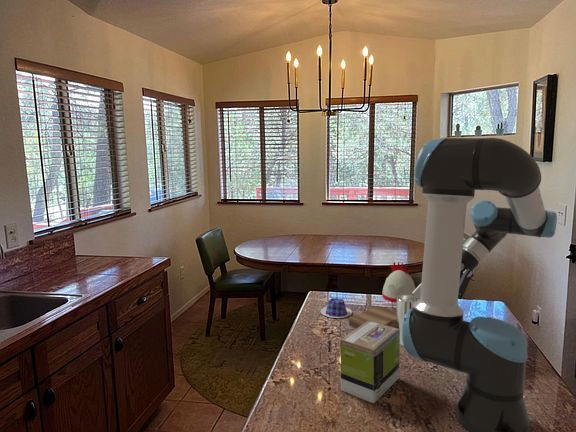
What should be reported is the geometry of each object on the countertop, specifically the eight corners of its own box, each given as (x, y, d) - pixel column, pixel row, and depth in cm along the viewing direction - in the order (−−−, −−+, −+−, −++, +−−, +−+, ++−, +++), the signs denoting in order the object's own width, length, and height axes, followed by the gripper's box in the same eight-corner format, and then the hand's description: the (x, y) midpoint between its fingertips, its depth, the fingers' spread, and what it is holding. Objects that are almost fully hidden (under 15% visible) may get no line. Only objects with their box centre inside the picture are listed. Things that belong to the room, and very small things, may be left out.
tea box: (367, 367, 121) (368, 318, 119) (400, 379, 115) (402, 328, 113) (339, 390, 110) (339, 337, 107) (373, 405, 104) (375, 349, 101)
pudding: (354, 309, 165) (354, 296, 164) (349, 321, 154) (349, 307, 153) (324, 306, 169) (324, 293, 168) (317, 317, 157) (317, 304, 156)
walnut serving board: (376, 336, 141) (376, 328, 140) (348, 325, 150) (349, 317, 149) (404, 323, 151) (404, 315, 150) (377, 313, 160) (377, 305, 159)
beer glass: (413, 337, 140) (415, 294, 137) (420, 347, 133) (422, 301, 130) (392, 337, 140) (393, 294, 137) (398, 347, 133) (400, 302, 130)
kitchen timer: (388, 289, 186) (389, 256, 184) (419, 294, 179) (421, 260, 177) (377, 299, 174) (378, 264, 172) (411, 305, 167) (412, 269, 165)
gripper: (502, 273, 125) (453, 325, 125) (455, 252, 149) (414, 296, 149) (487, 257, 123) (437, 310, 123) (442, 239, 147) (400, 283, 147)
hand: (424, 302), depth 136 cm, fingers open, 13 cm apart
